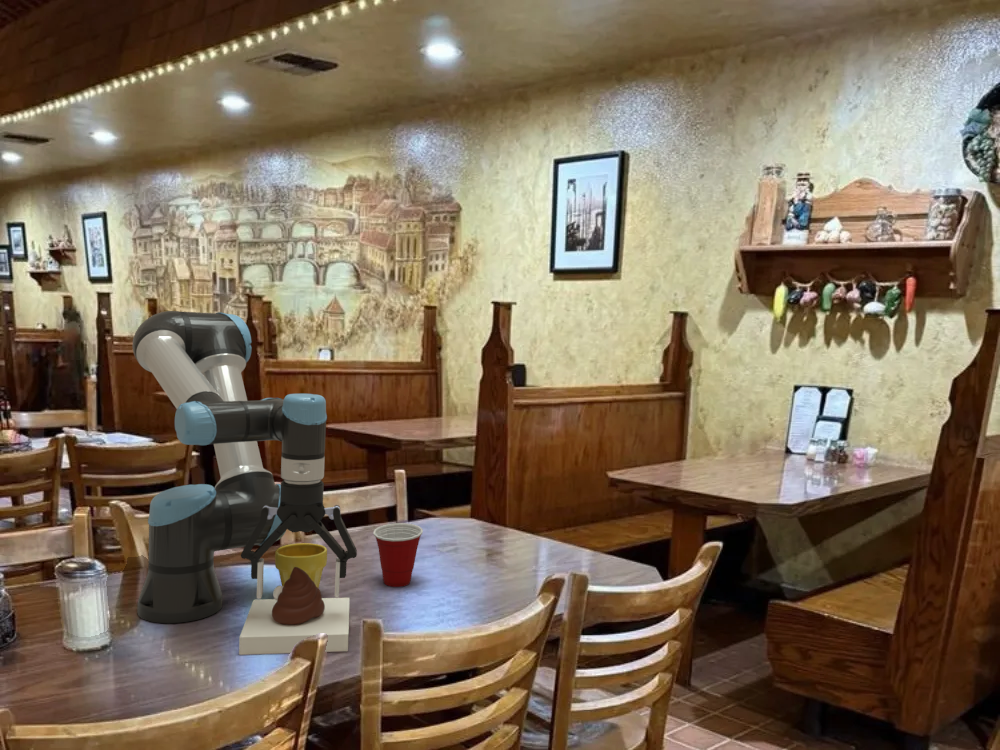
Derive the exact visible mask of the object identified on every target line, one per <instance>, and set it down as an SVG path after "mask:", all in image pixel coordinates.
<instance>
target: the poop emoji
mask: <svg viewBox="0 0 1000 750" xmlns="http://www.w3.org/2000/svg"><path fill="white" fill-rule="evenodd" d="M272 596H273V599H275V600H277V602H276V603H275V605H274V606H273V609H272V617H273V619H274V620H275V621H276V622H278V623H281V624H285V625H297V624H301V623H304V622H306V621H308V620H310V619H311V618H316V617H319V616H321V615H322V614H323V612H324V609H325V605H324V602H323V600H322V598H323V597H322V593H321V590H320V589H318V588H317V587H316V585H315V583H314V582H313V581H312V580H311V578H310V577H309V575H308V574H307V573H306V572H305V571H303V570H302V569H300V568H298V567H294V568H293V570H292V572H291V575H290V578H289V579H288V580H287V581H286V582H285V584H284V586H282V585H277V586H275V588H274V589H273V592H272Z"/></svg>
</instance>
